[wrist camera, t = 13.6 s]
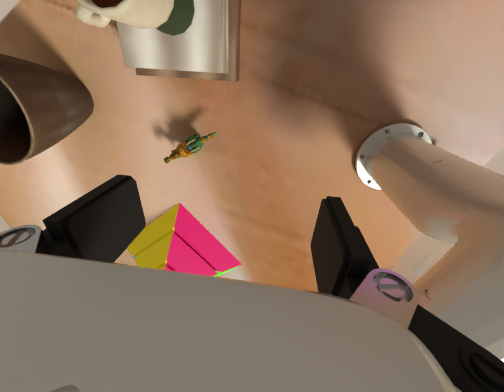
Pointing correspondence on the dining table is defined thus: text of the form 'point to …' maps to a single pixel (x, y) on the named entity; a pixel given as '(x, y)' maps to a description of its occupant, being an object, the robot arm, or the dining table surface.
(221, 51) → the grey stacked block
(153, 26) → the character mug
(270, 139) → the dining table surface
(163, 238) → the pyramid toy
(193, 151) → the figurine
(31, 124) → the plant pot
